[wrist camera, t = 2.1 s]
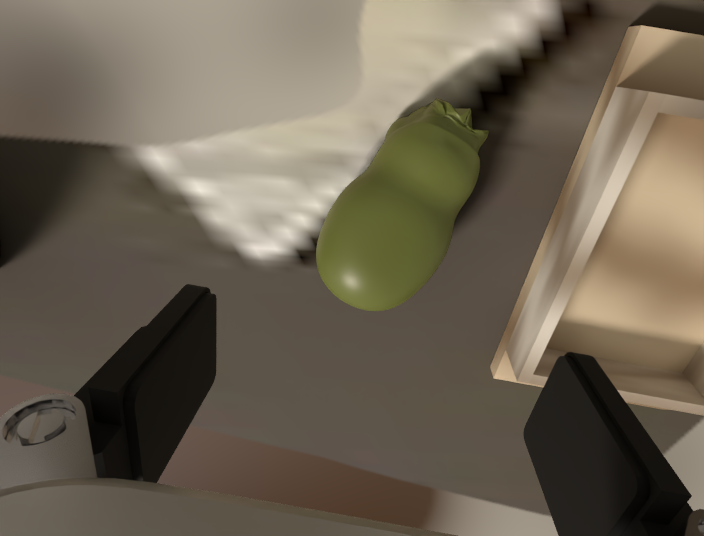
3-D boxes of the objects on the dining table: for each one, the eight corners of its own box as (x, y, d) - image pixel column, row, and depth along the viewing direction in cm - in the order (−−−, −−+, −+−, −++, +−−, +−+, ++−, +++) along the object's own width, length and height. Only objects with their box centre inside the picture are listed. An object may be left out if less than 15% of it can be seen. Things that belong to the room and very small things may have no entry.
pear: (285, 290, 17) (416, 63, 14) (303, 253, 22) (402, 80, 19) (397, 351, 18) (543, 148, 15) (390, 302, 23) (498, 142, 20)
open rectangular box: (628, 27, 16) (682, 20, 13) (885, 69, 16) (1000, 73, 13) (490, 366, 25) (503, 410, 22) (657, 397, 25) (695, 446, 22)
